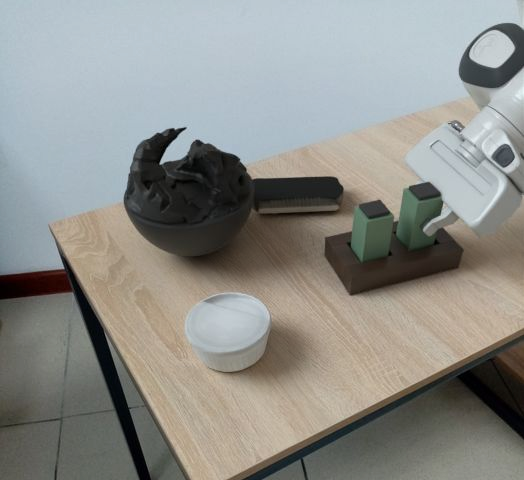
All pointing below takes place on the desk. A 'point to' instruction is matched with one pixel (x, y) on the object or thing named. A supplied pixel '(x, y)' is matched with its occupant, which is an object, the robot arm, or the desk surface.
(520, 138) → the robot arm
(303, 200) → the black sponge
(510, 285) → the desk surface
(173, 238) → the dark sculpted bowl
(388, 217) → the green square peg
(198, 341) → the ramekin
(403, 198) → the green capped post
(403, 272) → the socket block
